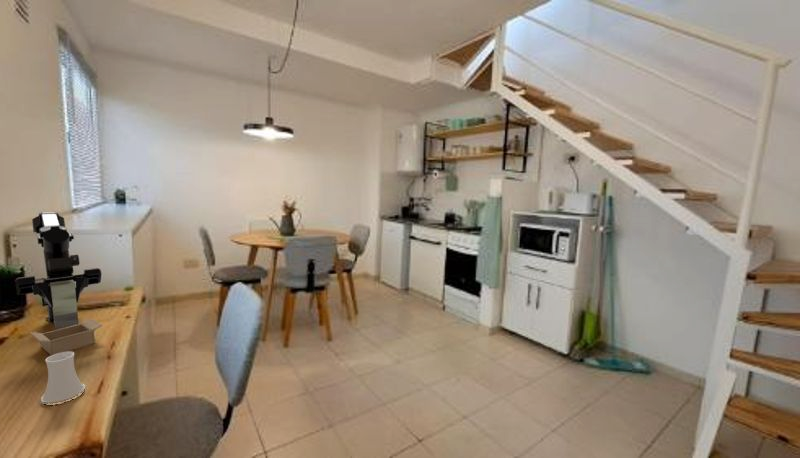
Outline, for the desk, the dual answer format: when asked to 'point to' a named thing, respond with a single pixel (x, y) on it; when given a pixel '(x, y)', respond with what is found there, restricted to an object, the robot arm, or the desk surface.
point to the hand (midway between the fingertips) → (64, 304)
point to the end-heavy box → (64, 303)
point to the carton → (68, 337)
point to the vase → (61, 379)
